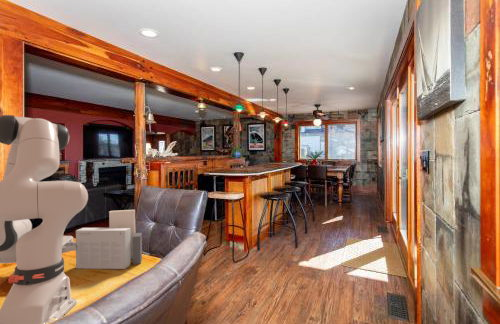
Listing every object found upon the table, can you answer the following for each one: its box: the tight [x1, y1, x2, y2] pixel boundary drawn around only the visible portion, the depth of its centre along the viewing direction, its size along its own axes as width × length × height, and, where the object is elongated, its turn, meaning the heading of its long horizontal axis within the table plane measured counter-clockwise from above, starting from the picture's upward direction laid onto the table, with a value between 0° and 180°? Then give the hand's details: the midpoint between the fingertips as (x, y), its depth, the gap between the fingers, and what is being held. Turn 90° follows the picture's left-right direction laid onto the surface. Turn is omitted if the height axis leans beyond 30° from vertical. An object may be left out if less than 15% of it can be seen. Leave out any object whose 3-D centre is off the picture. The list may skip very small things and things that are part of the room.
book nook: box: [108, 209, 143, 265], centre depth 120 cm, size 8×13×22 cm, turn 105°
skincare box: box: [75, 227, 132, 270], centre depth 115 cm, size 21×5×16 cm, turn 88°
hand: (78, 246), depth 114 cm, fingers closed on skincare box, 2 cm apart
